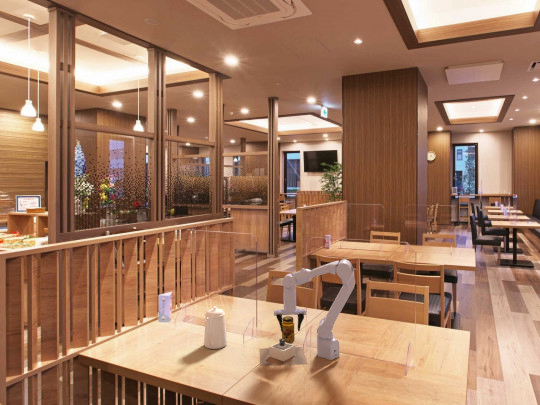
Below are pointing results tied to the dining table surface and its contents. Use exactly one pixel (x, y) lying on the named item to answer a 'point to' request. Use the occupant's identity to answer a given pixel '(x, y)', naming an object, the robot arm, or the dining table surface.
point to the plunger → (282, 344)
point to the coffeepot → (215, 329)
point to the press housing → (282, 352)
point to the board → (267, 360)
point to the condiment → (288, 329)
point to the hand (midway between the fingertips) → (290, 330)
